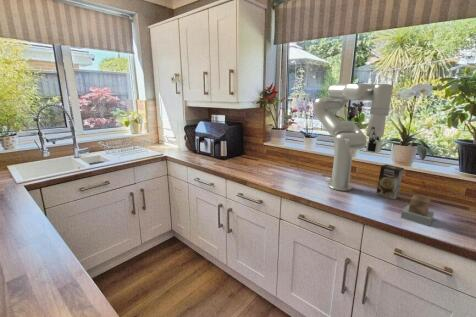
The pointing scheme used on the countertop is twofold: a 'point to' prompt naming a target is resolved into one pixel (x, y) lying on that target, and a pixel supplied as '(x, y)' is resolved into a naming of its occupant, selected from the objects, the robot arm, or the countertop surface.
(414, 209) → the walnut block
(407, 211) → the plinth
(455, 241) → the countertop surface
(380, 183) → the coffee box
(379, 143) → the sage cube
